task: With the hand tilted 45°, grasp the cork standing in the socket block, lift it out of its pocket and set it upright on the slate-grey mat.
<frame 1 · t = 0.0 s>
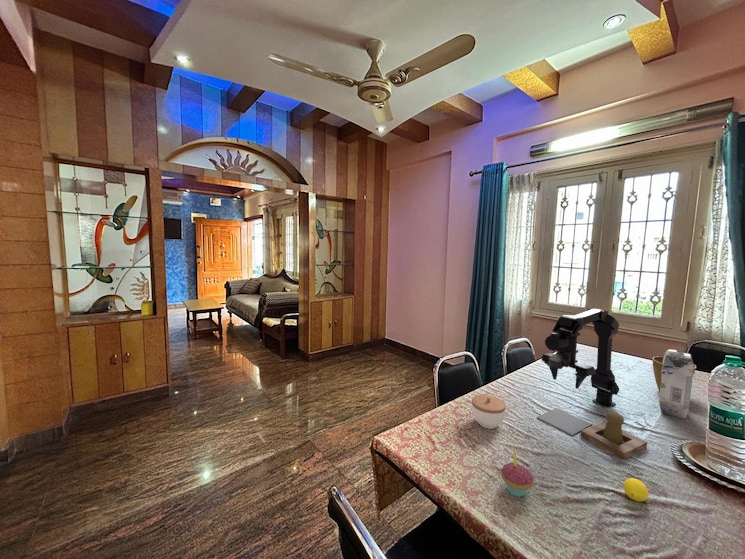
hand: (565, 383, 125), 15 cm above the table, tool pointing down, fingers open, 9 cm apart
lemon: (634, 499, 86), on the table
grey mat: (563, 421, 124), on the table
socket block: (612, 442, 111), on the table
juice carton: (672, 412, 131), on the table
cork: (612, 443, 111), resting in socket block
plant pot: (670, 394, 147), on the table
cupcake: (516, 491, 89), on the table
lidded bowl: (487, 424, 123), on the table
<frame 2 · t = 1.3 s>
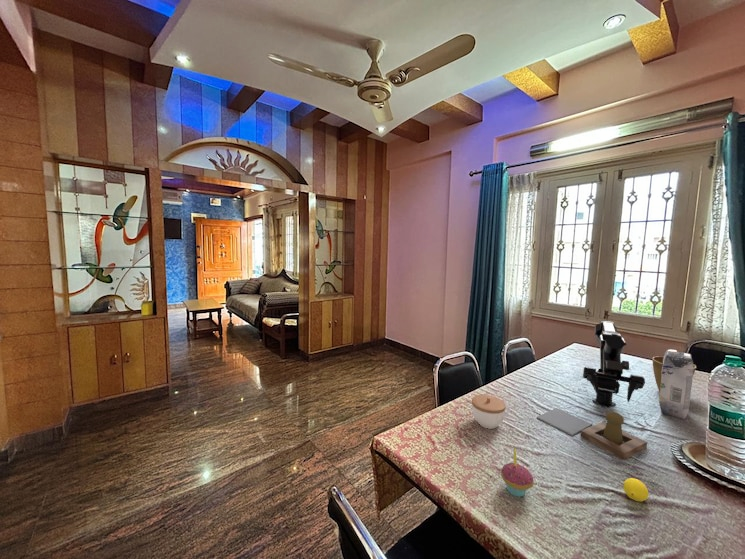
hand: (612, 398, 116), 13 cm above the table, tool tilted 45°, fingers open, 9 cm apart
nothing on the table moved.
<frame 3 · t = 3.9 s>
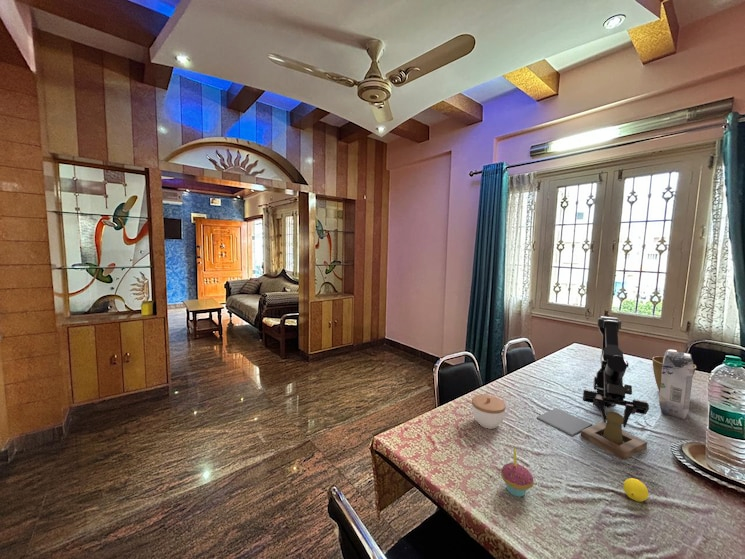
hand: (614, 424, 109), 8 cm above the table, tool tilted 45°, fingers closed on cork, 5 cm apart
cork: (612, 443, 111), resting in socket block, touching gripper
everything else where it was.
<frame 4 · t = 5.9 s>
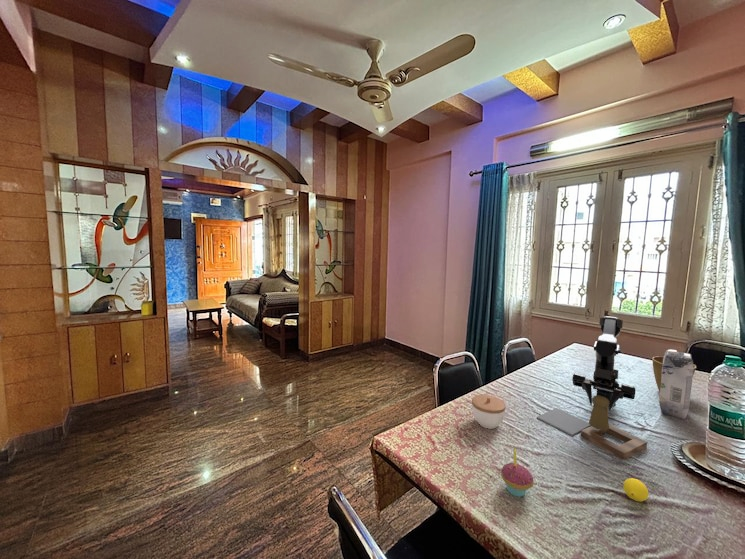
hand: (600, 407, 112), 12 cm above the table, tool tilted 45°, fingers closed on cork, 5 cm apart
cork: (598, 425, 113), point 4 cm above the table, touching gripper
everything else where it was.
when the fingers open (9 cm above the table, at t = 8.0 s): cork drops 1 cm, resting on grey mat.
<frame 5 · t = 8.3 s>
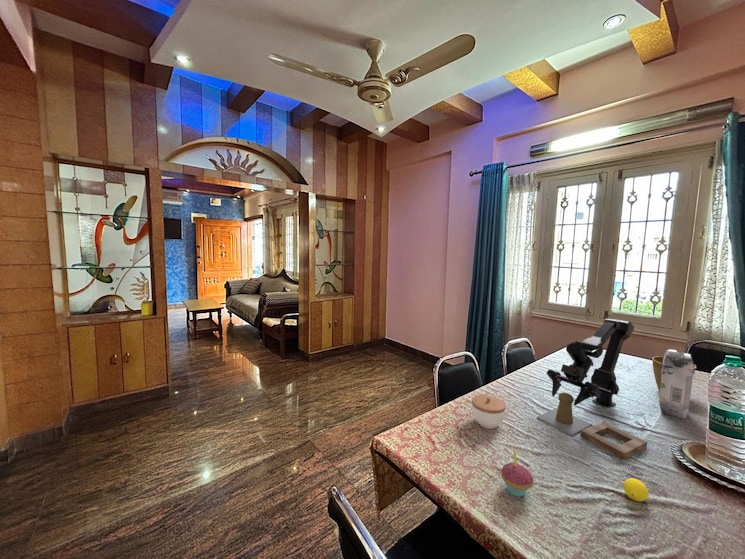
hand: (563, 400, 122), 10 cm above the table, tool tilted 45°, fingers open, 8 cm apart
cork: (564, 420, 124), resting on grey mat
everything else where it was.
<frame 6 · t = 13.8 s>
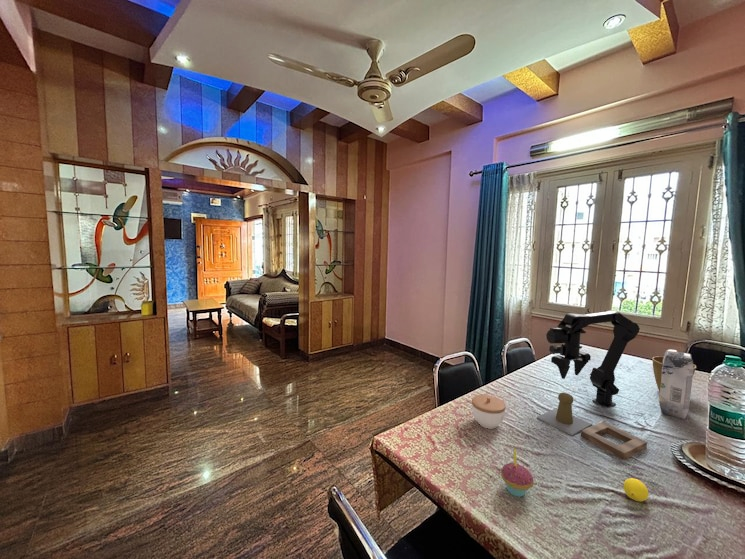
hand: (569, 376, 136), 13 cm above the table, tool pointing down, fingers open, 9 cm apart
nothing on the table moved.
at the end: cork inside the target area on the grey mat (0.2 cm from its centre), point 0.4 cm above the grey mat's base; cork tilted 0°; the gripper is holding nothing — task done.
